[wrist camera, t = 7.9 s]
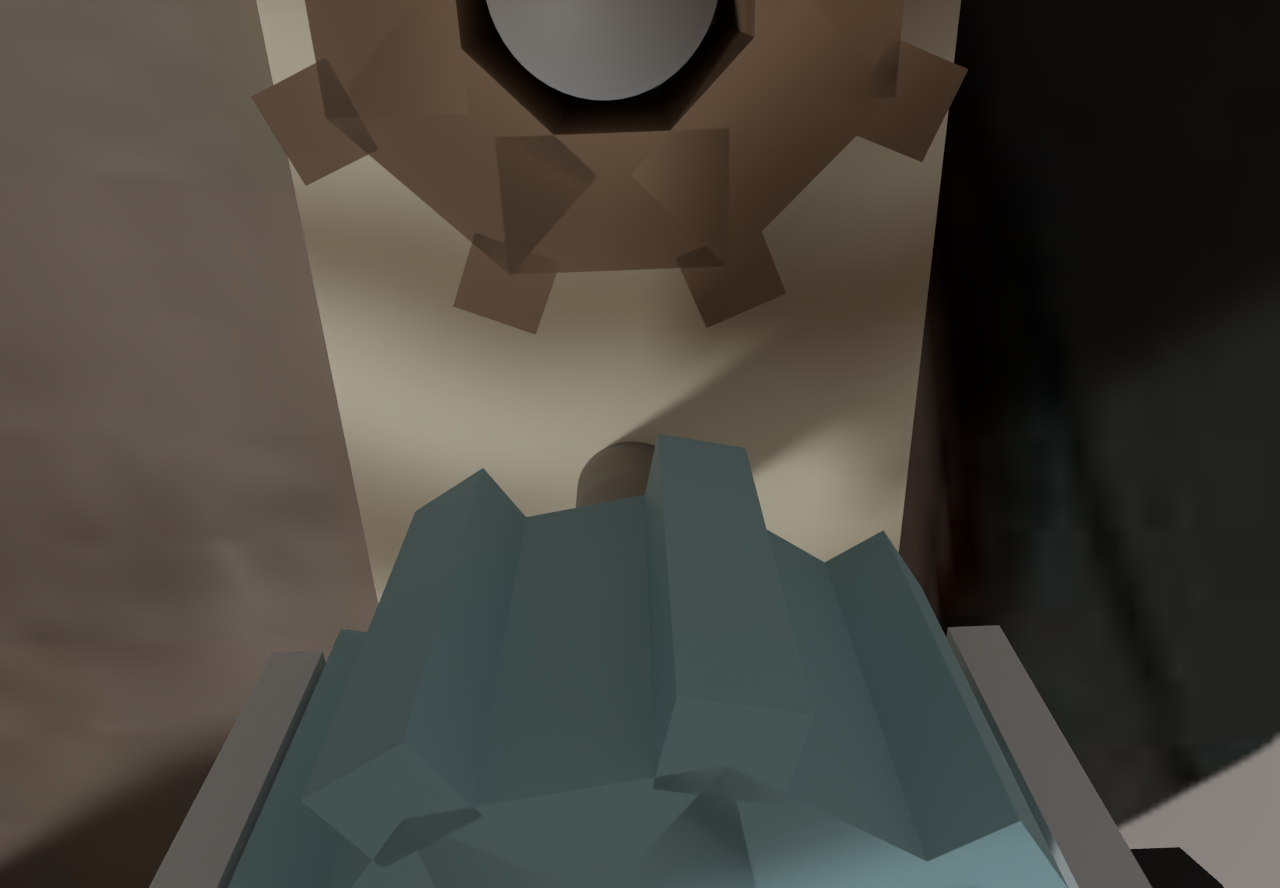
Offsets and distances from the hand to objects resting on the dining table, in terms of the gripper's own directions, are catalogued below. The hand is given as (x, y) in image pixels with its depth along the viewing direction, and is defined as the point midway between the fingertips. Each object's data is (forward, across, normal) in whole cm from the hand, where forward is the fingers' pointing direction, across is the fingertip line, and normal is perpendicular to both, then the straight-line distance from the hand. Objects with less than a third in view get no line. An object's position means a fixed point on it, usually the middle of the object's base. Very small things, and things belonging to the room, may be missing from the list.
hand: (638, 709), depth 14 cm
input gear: (0, 0, 0) cm, 0 cm away
